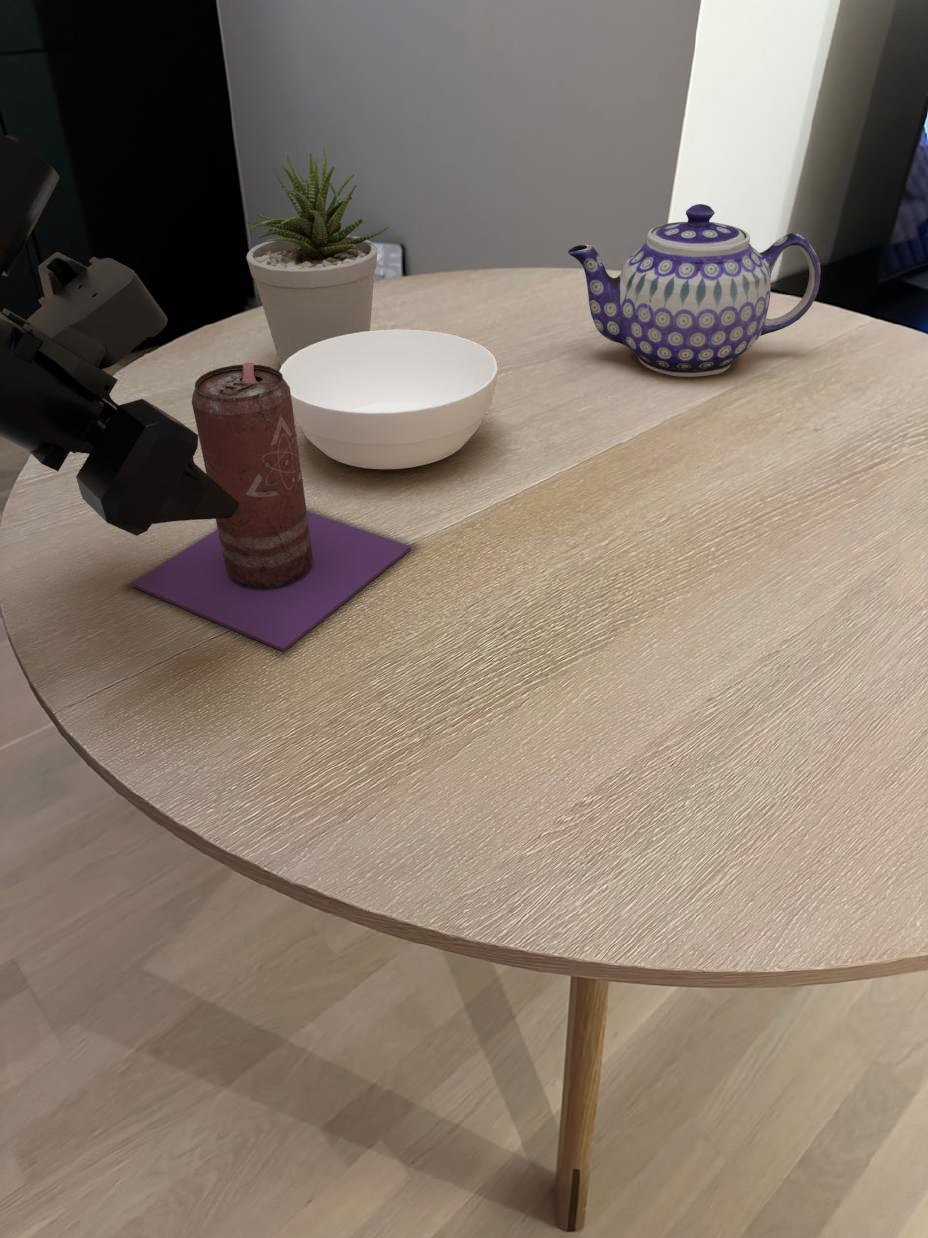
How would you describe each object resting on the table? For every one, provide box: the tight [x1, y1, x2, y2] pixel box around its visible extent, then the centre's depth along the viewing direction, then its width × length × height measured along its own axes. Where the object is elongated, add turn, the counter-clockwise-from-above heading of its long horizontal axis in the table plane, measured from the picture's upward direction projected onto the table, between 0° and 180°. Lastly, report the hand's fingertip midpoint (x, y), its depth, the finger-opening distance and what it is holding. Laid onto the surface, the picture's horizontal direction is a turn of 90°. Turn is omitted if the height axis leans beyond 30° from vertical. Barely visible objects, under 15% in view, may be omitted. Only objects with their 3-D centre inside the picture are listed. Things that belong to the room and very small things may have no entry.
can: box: [191, 362, 313, 589], centre depth 62 cm, size 6×6×14 cm
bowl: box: [278, 328, 499, 470], centre depth 79 cm, size 18×18×7 cm
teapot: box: [567, 203, 821, 378], centre depth 92 cm, size 25×15×15 cm, turn 87°
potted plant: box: [245, 147, 389, 366], centre depth 91 cm, size 13×14×20 cm
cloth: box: [131, 510, 412, 653], centre depth 66 cm, size 14×14×1 cm
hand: (200, 482), depth 59 cm, fingers open, 9 cm apart
